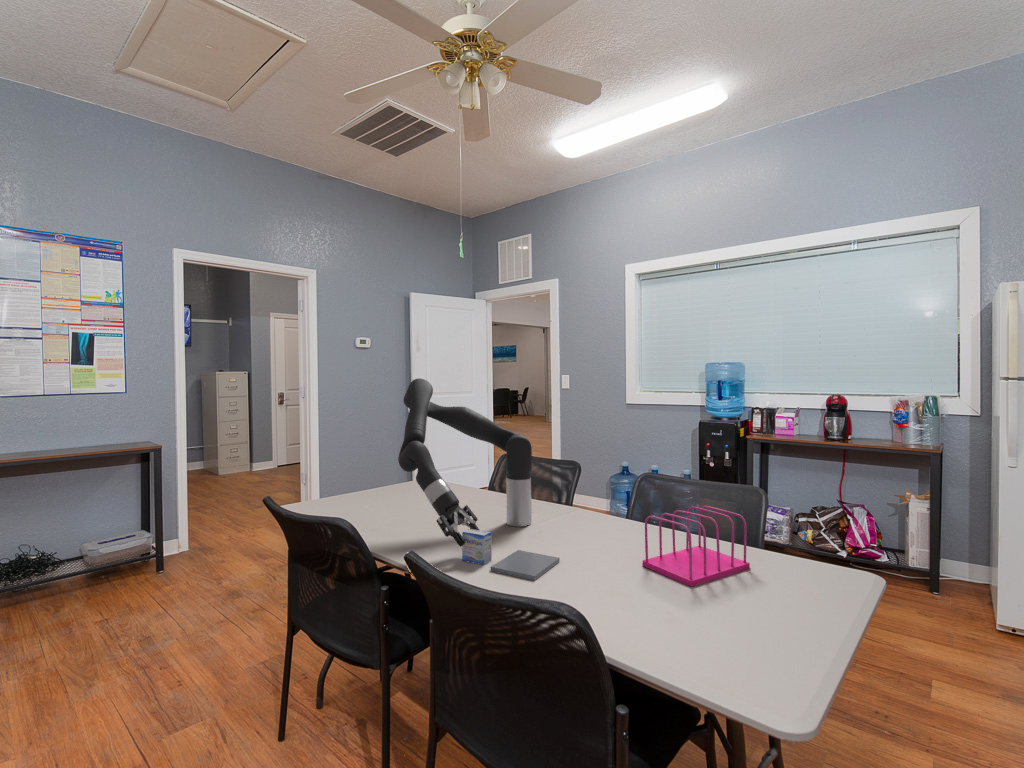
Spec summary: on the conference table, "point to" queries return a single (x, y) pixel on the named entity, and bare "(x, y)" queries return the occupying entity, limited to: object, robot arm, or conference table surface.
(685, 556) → the file sorter
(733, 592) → the conference table surface
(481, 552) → the medicine box
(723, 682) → the conference table surface
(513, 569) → the slate tile
